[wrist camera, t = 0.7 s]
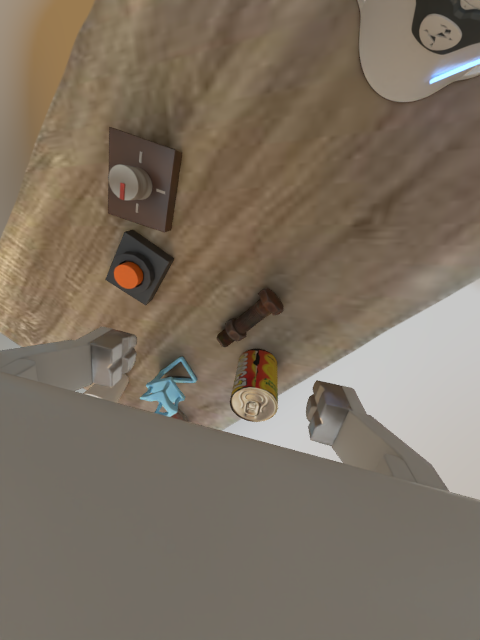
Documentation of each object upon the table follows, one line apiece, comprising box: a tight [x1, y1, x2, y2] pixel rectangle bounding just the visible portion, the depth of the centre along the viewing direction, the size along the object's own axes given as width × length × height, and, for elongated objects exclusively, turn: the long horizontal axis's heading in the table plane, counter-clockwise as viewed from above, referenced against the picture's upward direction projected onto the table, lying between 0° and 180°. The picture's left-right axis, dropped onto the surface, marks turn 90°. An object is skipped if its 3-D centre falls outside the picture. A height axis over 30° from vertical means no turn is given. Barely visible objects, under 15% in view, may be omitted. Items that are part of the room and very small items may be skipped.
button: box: [114, 262, 143, 289], centre depth 42 cm, size 4×4×2 cm
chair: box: [140, 357, 197, 417], centre depth 54 cm, size 8×8×12 cm
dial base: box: [108, 127, 182, 232], centre depth 38 cm, size 12×10×3 cm
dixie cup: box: [83, 374, 129, 403], centre depth 59 cm, size 8×8×10 cm
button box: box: [106, 230, 174, 305], centre depth 45 cm, size 11×9×4 cm
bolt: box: [217, 288, 283, 347], centre depth 47 cm, size 6×5×15 cm
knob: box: [108, 164, 152, 200], centre depth 35 cm, size 4×4×5 cm
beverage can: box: [230, 349, 278, 422], centre depth 50 cm, size 9×9×12 cm
